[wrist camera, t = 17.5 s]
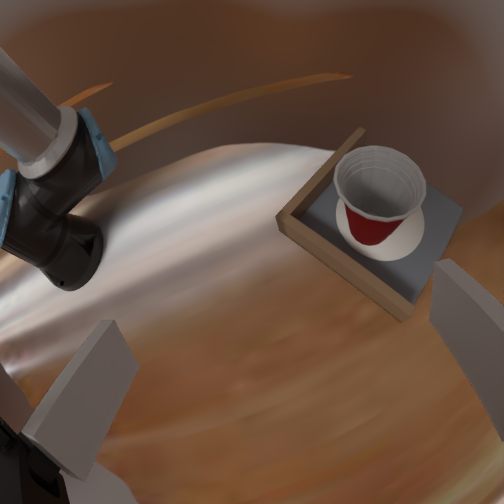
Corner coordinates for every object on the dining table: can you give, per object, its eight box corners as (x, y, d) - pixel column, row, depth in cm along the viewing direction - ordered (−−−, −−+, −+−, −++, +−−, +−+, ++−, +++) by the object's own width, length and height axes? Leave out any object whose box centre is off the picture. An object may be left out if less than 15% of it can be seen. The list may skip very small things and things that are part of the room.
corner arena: (279, 230, 43) (275, 216, 39) (357, 144, 46) (359, 126, 42) (400, 322, 34) (410, 316, 30) (462, 211, 37) (472, 197, 33)
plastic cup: (363, 183, 42) (371, 128, 31) (415, 228, 37) (442, 180, 26) (315, 226, 41) (312, 175, 30) (369, 278, 36) (390, 241, 25)
